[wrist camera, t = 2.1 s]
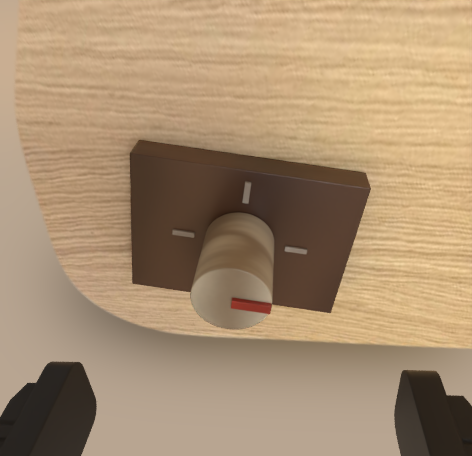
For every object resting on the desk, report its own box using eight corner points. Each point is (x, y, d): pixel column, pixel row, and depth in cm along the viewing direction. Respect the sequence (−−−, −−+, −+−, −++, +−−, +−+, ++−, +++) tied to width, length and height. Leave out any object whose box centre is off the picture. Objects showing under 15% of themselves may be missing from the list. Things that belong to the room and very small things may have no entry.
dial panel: (139, 266, 33) (131, 285, 31) (139, 139, 28) (128, 154, 26) (328, 294, 33) (330, 315, 31) (365, 172, 27) (371, 189, 26)
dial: (202, 263, 30) (186, 327, 25) (208, 207, 27) (191, 266, 23) (268, 272, 30) (265, 339, 25) (279, 217, 27) (278, 279, 23)
